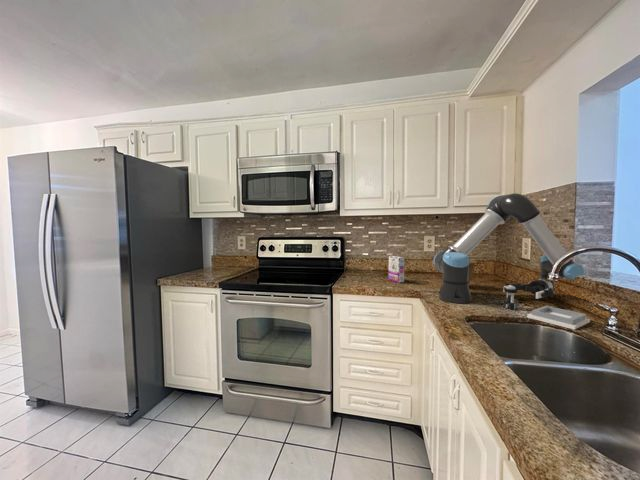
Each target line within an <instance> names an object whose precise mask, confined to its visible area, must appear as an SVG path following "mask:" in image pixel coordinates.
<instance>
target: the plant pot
mask: <svg viewBox="0 0 640 480" xmlns="http://www.w3.org/2000/svg"><path fill="white" fill-rule="evenodd" d="M475 265H476V261H475V260H471V259H469V272H468V285H469V284H470V282H471V280H472V276H473V273H474V269H475Z"/></svg>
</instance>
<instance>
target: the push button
mask: <svg viewBox="0 0 640 480" xmlns="http://www.w3.org/2000/svg"><path fill="white" fill-rule="evenodd" d="M503 288H504V292H503V293H506V300H504V301H503V306H504V308H506V309H509V310H516V303H515V294H517V293H518V291H519V290H518V289H516V287H515V286H506V287H504V286H503Z"/></svg>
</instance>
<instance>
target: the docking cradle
mask: <svg viewBox="0 0 640 480" xmlns="http://www.w3.org/2000/svg"><path fill="white" fill-rule="evenodd" d="M526 317H527V318H528V319H531V320H536V321H539V322H544V323H548V324H551V325H555V326H559V327H563V328H567V329H571V330H577V329H579V328H581V327H583V326H585V325H587V324H589V323H590V322H591V319H590V318H587V314H586V313H583V312H582V313H581V312H577V311H574V310H573V311H572V310H568V309H562V308H558V307H554V306H550V305H544V306H541V307H539V308H535V309H532V310H531V312H530V313H527V316H526Z"/></svg>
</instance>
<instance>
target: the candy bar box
mask: <svg viewBox="0 0 640 480" xmlns="http://www.w3.org/2000/svg"><path fill="white" fill-rule="evenodd" d="M405 260H406V257H403V256H397V255H390V256H388V268H387V269H388V273H387V275H388V276H387V277H388V281H391V282H394V283H398V284H403V283H405V268H406V267H405V264H406V261H405Z"/></svg>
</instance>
